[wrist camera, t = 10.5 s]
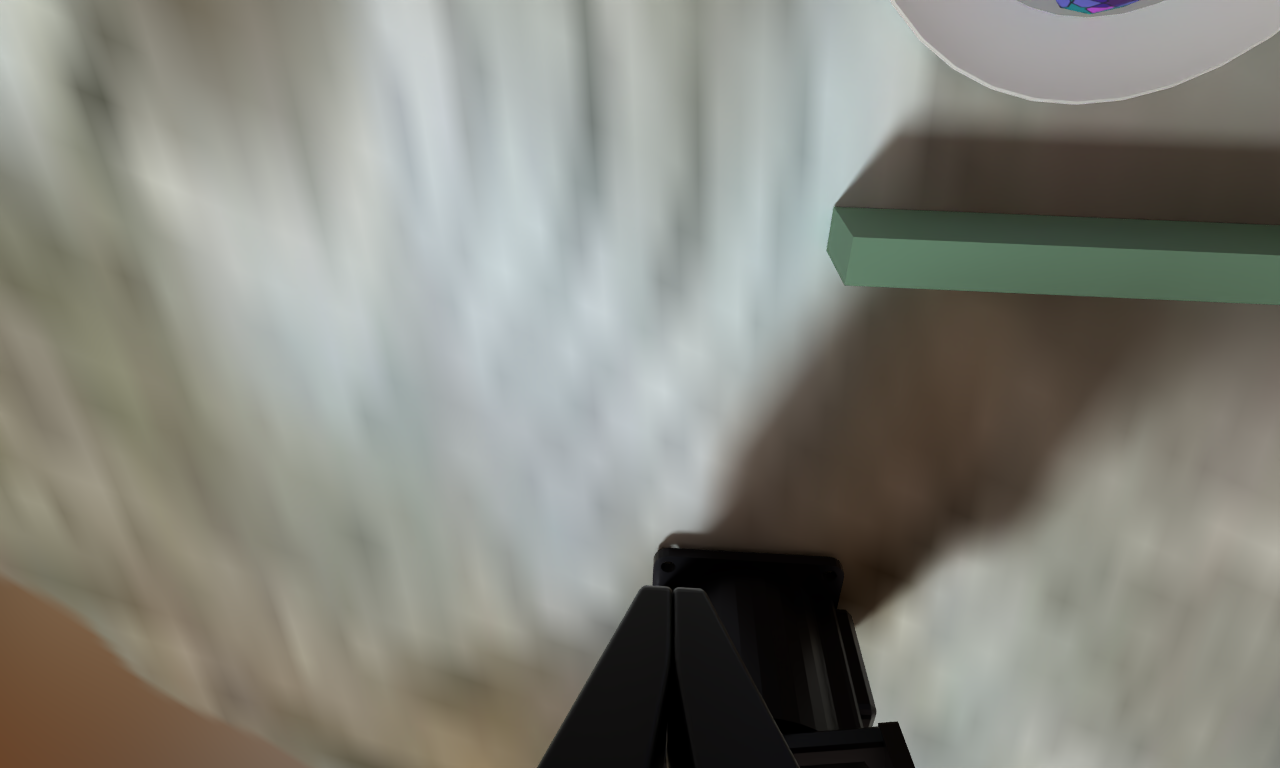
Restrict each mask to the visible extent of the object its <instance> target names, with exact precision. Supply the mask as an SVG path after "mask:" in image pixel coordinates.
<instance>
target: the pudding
mask: <svg viewBox="0 0 1280 768" xmlns="http://www.w3.org/2000/svg"><path fill="white" fill-rule="evenodd" d="M890 1H891V3H892V5H893V6H894V8H895V9H896V10H897V12H898V13H899V14H900V15H901V17H902V18H903V19H904V21H905V22H906V23H907V25H908V26H909V27H910V28H911V30H912V31H913V32H914V34H915V35H916V36H917V38H918V39H919V40H920V41H921V42H922V43H923V44H924V45H925V46H927V47H928V48H929V49H930V50H931V51H933V52H934V53H935V54H936V55H937V56H938V57H940V58H941V59H942V60H943V61H944V62H945V63H947V64H948V65H949V66H950V67H951V68H952V69H954V70H956V71H958V72H960V73H961V74H963V75H965V76H967V77H969V78H971V79H973V80H975V81H976V82H978V83H980V84H982V85H984V86H986V87H988V88H989V89H992V90H996V91H999V92H1003V93H1006V94H1009V95H1013V96H1016V97H1020V98H1023V99H1027V100H1030V101H1039V102H1051V103H1062V104H1074V105H1077V104H1088V103H1099V102H1109V101H1120V100H1125V99H1129V98H1133V97H1137V96H1141V95H1145V94H1148V93H1152V92H1156V91H1160V90H1164V89H1167V88H1171V87H1174V86H1176V85H1178V84H1181V83H1183V82H1186V81H1188V80H1190V79H1193V78H1195V77H1197V76H1200V75H1202V74H1204V73H1207V72H1209V71H1211V70H1214V69H1216V68H1219V67H1221V66H1223V65H1224V64H1226V63H1228V62H1230V61H1231V60H1233V59H1235V58H1236V57H1238V56H1240V55H1241V54H1243V53H1245V52H1247V51H1248V50H1250V49H1252V48H1253V47H1255V46H1257V45H1258V44H1260V43H1262V42H1264V41H1265V40H1267V39H1269V38H1270V37H1272V36H1273V35H1275V34H1276V33H1277V32H1278V31H1280V0H1164V1H1162V2H1160V3H1158V4H1155V5H1151V6H1148V7H1144V8H1141V9H1137V10H1134V11H1130V12H1127V13H1123V14H1115V15H1106V16H1097V17H1078V16H1065V15H1056V14H1052V13H1049V12H1046V11H1042V10H1039V9H1035V8H1032V7H1029V6H1026V5H1025V4H1023V3H1021V2H1019V1H1017V0H890ZM1056 1H1057V3H1058V5H1059V6H1060V8H1065V9H1069V10H1073V11H1078V12H1082V13H1087V14H1093V13H1098V12H1102V11H1106V10H1111V9H1115V8H1120V7H1124V6H1126V5H1129V4H1131V3H1134V2H1137V1H1139V0H1056Z"/></svg>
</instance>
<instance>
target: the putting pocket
mask: <svg viewBox="0 0 1280 768" xmlns="http://www.w3.org/2000/svg"><path fill="white" fill-rule="evenodd" d="M827 252H828V254H829V256H830V258H831V260H832V262H833V264H834V266H835V268H836V270H837V272H838V274H839V275H840V277H841V279H842V281H843V283H844V285H847V286H870V287H892V288H914V289H936V290H958V291H981V292H1003V293H1025V294H1047V295H1069V296H1092V297H1114V298H1136V299H1158V300H1180V301H1202V302H1225V303H1247V304H1269V305H1280V225H1259V224H1235V223H1212V222H1188V221H1164V220H1140V219H1116V218H1092V217H1068V216H1044V215H1020V214H996V213H972V212H948V211H924V210H900V209H876V208H853V207H834V208H833V214H832V220H831V227H830V233H829V239H828V245H827Z"/></svg>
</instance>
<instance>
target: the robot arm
mask: <svg viewBox="0 0 1280 768" xmlns="http://www.w3.org/2000/svg"><path fill="white" fill-rule="evenodd" d="M668 561H669V562H672V564H665V563H664V562H668ZM826 571H832V572H830V573H824V572H826ZM843 579H844V572H843V568H842V565H841V563H840V561H839V560H837V559H835V558H832V557H820V556H802V555H784V554H767V553H749V552H731V551H713V550H696V549H678V548H663V549H661V550H659V551H658V552H657V553H656V554H655V556H654V567H653V586H648V585H646V586H643V587H642V588H641V589H640V590H639V592H638V593H637V595H636V597H635V598H634V600H633V602H632V604H631V605H630V607H629V609H628V611H627V612H626V614H625V616H624V618H623V619H622V621H621V623H620V624H619V626H618V628H617V630H616V631H615V633H614V635H613V637H612V638H611V640H610V642H609V644H608V645H607V647H606V649H605V651H604V652H603V654H602V656H601V657H600V659H599V661H598V663H597V664H596V666H595V668H594V670H593V671H592V673H591V675H590V677H589V678H588V680H587V682H586V683H585V685H584V687H583V689H582V690H581V692H580V694H579V696H578V697H577V699H576V701H575V703H574V704H573V706H572V708H571V710H570V711H569V713H568V715H567V716H566V718H565V720H564V722H563V723H562V725H561V727H560V729H559V730H558V732H557V734H556V736H555V737H554V739H553V741H552V742H551V744H550V746H549V748H548V749H547V751H546V753H545V755H544V756H543V758H542V760H541V762H540V763H539V765H538V767H537V768H915V766H914V763H913V761H912V758H911V755H910V753H909V750H908V747H907V745H906V742H905V739H904V737H903V734H902V731H901V729H900V726H899V723H898V722H885V723H878V727H872V726H873V723H874V719H875V716H876V707H875V704H874V700H873V696H872V692H871V688H870V684H869V681H868V677H867V673H866V669H865V665H864V662H863V658H862V654H861V650H860V646H859V643H858V639H857V635H856V631H855V627H854V624H853V620H852V616H851V615H850V614H849V613H848V612H847V611H846V610H841V609H837V605H838V601H839V596H840V592H841V588H842V583H843Z"/></svg>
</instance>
